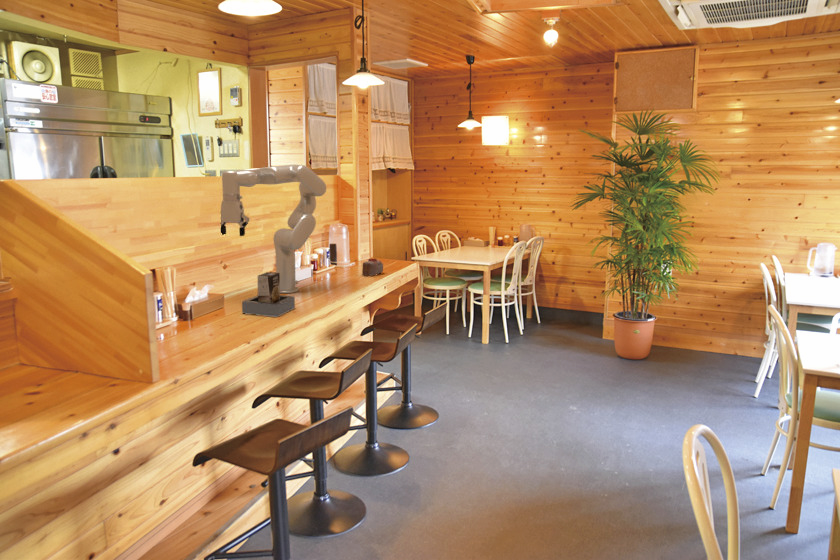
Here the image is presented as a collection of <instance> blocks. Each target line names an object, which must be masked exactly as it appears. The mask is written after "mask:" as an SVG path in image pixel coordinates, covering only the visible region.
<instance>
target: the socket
mask: <svg viewBox="0 0 840 560" xmlns="http://www.w3.org/2000/svg"><path fill="white" fill-rule="evenodd" d="M295 297H296V296H293V295H292V296H291V295H284V294H283V295H282V294H280V301H279V302H276V303H266V302H258V294H257V295H255V296H252V297H250V298H247V299H245V300H242V301H241V310H242V311H241V312H242V313H245V314H244V315H250V314H256V315H255V316H260V315H263V317H273V318H278V317H280V316H282V315H285V314H286V313H288V312H290V311H292V310H295V308H296V305H295V304H296V302H295V301H296V300H295V299H296V298H295ZM242 313H241V314H242Z"/></svg>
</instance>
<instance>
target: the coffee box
mask: <svg viewBox="0 0 840 560" xmlns="http://www.w3.org/2000/svg"><path fill="white" fill-rule="evenodd" d="M257 295H258V302H266V303H276V302H279V301H280V295H281V293H280V273H276V272H264V273H261V274H258V275H257Z"/></svg>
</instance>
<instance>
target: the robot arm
mask: <svg viewBox="0 0 840 560" xmlns="http://www.w3.org/2000/svg"><path fill="white" fill-rule="evenodd" d="M221 172H222V173H221V181H222V182H221V185H222V200H221V205H220V214H221V217H220V220H221V223H220V224H221V228H220V234H221V233H222V235H221V236H223V235H224V234H225V235H227V227H226V224H238V225H239V226H240V227H239V229H238V230H239V237H244V236H245V235H246V227H247V225H248V224H249V222H250V219H251V218H250V217H248V216H247V215H246V214H245V209H244V205H243V201H242V200H243V196H242V195H241V190H240V189H241V187H245V188H253V187H254V186H256V185H268V186H269V185H270V186H271V185H280V184H289V183H299V184H298V190H299V194H300V200H299V202H298V204H297V206H296V207H295V209H293V211H292V213H291V214H290V215H289V217H288V219H287V226H288V227H289V228H279V229H277V230H276V231H275V232H274V234H273V239H272V240H273V245H274V249H275V250H274V251H275V252H274V253H275V273H280V294H293V293H297V292H299V290H300V288H299V287H297V286H296V285H297V284H299V281H298V280H297V278H296V252H295V250H300V249H301V248H302V247H303V246H304V245H305V243H306V242H307V240H308V239H309V237H311V236H312V235H311V234H313V232H314V230H315V228H316V224H317V223H316V222H317V220H316V218H315V216H314V215H313V214H314V212H315V210H316V207H317V200H316V197H321V196H323V195H325V193H326V192H327V185H326V183H325V181H324V180H323V179H322V178H321V177H320V176H319V175H318V174H317V173H315V172H314V171H313V170H312V169H311V168H310V167H308V166H307V165H304V164H285V165H275V166H266V167H260V168H257V167H256V168H247V169H237V170H224V171H221Z"/></svg>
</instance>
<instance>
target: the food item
mask: <svg viewBox="0 0 840 560" xmlns="http://www.w3.org/2000/svg"><path fill="white" fill-rule="evenodd" d="M361 270H362V271H361V272H362V273H361V275H362V276H363V275H365V276H364V277H368V276H371V277H373V276H372V275H374V276H375V275H376V274H378V275H380V274H381V273H383V271H384V263H383V262H382V261H381V260H379V259H377V258H368V259H367V261H364V262H363V263H362V269H361ZM379 273H380V274H379ZM376 276H377V275H376Z"/></svg>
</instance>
